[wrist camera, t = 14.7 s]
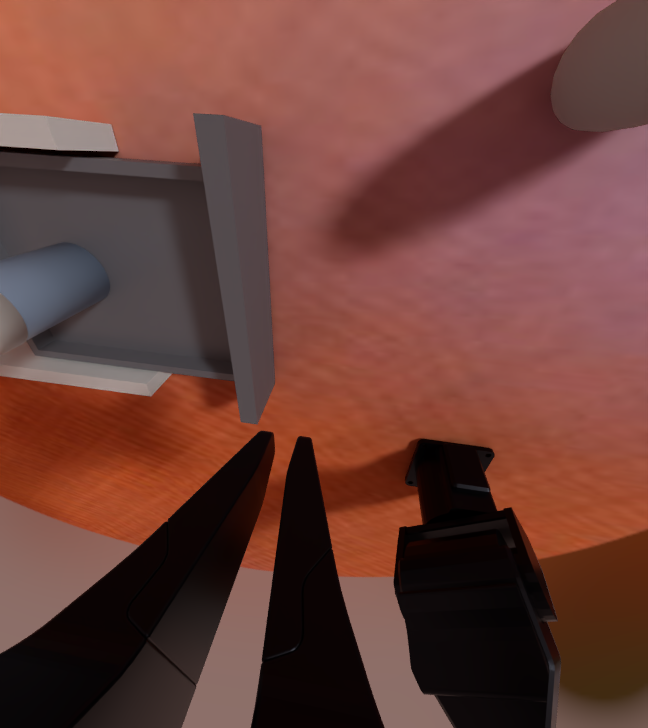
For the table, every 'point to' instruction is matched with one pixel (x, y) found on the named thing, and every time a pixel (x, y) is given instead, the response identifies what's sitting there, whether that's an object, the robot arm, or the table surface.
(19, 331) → the canister
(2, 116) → the dock
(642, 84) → the donut
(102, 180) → the tray
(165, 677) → the robot arm
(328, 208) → the table surface
